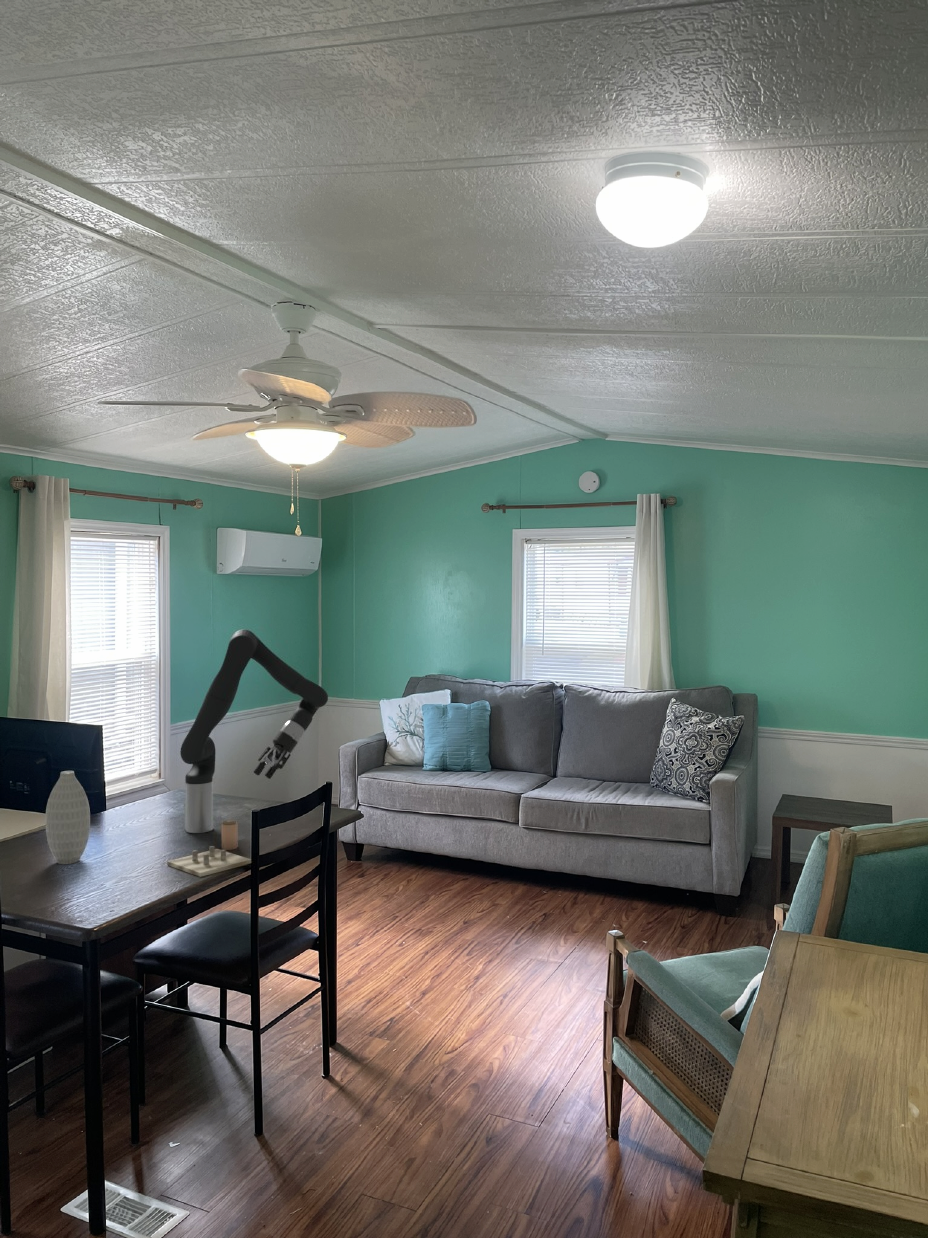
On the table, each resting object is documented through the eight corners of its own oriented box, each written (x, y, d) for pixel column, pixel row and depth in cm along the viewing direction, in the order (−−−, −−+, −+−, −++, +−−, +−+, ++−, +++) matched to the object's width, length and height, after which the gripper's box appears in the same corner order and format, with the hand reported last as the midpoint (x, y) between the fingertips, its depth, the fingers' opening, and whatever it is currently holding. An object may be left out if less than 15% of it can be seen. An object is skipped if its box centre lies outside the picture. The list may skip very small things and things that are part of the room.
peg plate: (167, 865, 279) (167, 851, 279) (217, 852, 292) (217, 839, 292) (200, 877, 267) (200, 862, 267) (251, 863, 281) (251, 849, 281)
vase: (46, 858, 286) (45, 769, 286) (90, 854, 291) (89, 766, 291) (45, 869, 275) (44, 777, 274) (90, 864, 280) (89, 773, 279)
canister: (218, 848, 298) (218, 821, 298) (231, 844, 302) (231, 818, 302) (227, 850, 295) (227, 824, 294) (241, 847, 299) (240, 820, 298)
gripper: (271, 728, 316) (244, 767, 310) (291, 732, 305) (263, 772, 299) (286, 740, 320) (259, 779, 313) (306, 744, 309) (278, 784, 302)
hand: (261, 775), depth 306 cm, fingers open, 8 cm apart
